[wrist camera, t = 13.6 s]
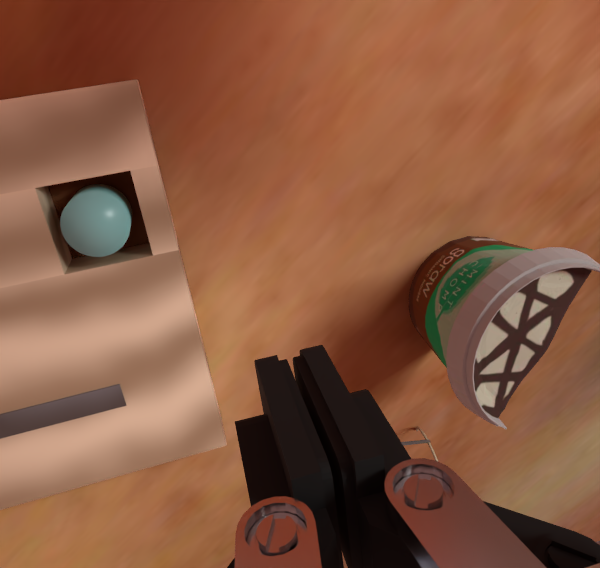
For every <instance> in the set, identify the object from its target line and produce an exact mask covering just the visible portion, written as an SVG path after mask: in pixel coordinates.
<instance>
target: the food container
mask: <svg viewBox="0 0 600 568" xmlns="http://www.w3.org/2000/svg"><path fill="white" fill-rule="evenodd" d="M599 268H600V264H598V263H597V262H596V261H594V260H593V259H592V258H590V257H589V256H588V255H586V254H584V253H581V252H579V251H577V250H573V249H568V248H559V247H549V248H543V249H536V250H532V249H528V248H524V247H520V246H517V245H513V244H509V243H505V242H502V241H498V240H494V239H490V238H487V237H471V236H468V237H464V238H461V239H457V240H453V241H450V242H448V243H447V244H445V245H444V246H442V247H440V248H439V249H437V250H436V251H434V252H433V253H432V254H431V255H430V256H429V257H428V258H427V259H426V260H425V262H424V263H423V264H422V265H421V267H420V268H419V270H418V271H417V273H416V275H415V277H414V280H413V282H412V285H411V289H410V294H409V311H410V316H411V319H412V322H413V324H414V326H415V328H416V329H417V331H418V332H419V334H420V335H421V336H422V337H423V339H424V340H425V341H426V342H427V344H428V345H429V346H430V347H431V349H432V350H433V351H434V352H435V354H436V355H437V356H438V358H439V359H440V360H441V361H442V363H443V364H444V365H445V366H446V368H447V372H448V378H449V381H450V384H451V387H452V389H453V391H454V392H455V394H456V396H457V398H458V399H459V400H460V401H461V402H462V404H463V405H464V406H465V407H466V408H468V409H469V410H470V411H472V412H473V413H475V414H476V415H478V416H480V417H481V418H483V419H484V420H486V421H488V422H490V423H492V424H494V425H496V426H498V425H499V426H501V427H503V428H505V429H506V426H505V425H504V424H503V423H502V422H501V420H500V419H499V418H498V417H499V416H500V414H501V413H502V411H503V410H504V409H505V407H506V405H507V403H508V401H509V399H510V397H511V396H512V394H513V393H514V391H515V390H516V388H517V387H518V385H519V384H520V382H521V381H522V380H523V378H524V377H525V376H526V375H527V374H528V373H529V371H530V370H531V369H532V368H533V367H534V365H535V364H536V363H537V362H538V361H539V359H540V358H541V357H542V356H543V354H544V353H545V352H546V350H547V349H548V347H549V345H550V343H551V341H552V339H553V337H554V335H555V333H556V331H557V329H558V327H559V325H560V322H561V320H562V318H563V316H564V314H565V313H566V311H567V309H568V307H569V305H570V304H571V302H572V300H573V299H574V297H575V296H576V294H577V293H578V291H579V289H580V288H581V286H582V285H583V283H584V282H585V280H586V279H587V277H588V276H589V274H590V273H591V271H592V270H594V271H598V272H600V269H599Z"/></svg>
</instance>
